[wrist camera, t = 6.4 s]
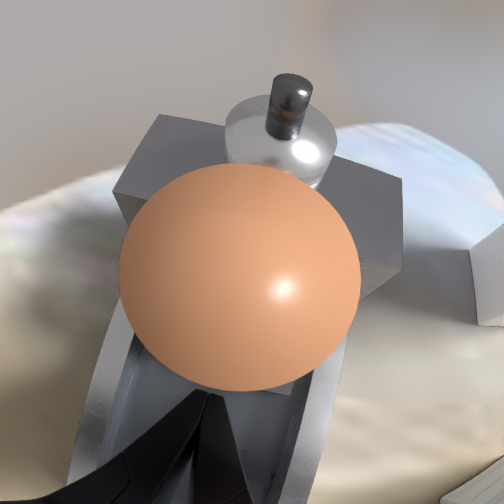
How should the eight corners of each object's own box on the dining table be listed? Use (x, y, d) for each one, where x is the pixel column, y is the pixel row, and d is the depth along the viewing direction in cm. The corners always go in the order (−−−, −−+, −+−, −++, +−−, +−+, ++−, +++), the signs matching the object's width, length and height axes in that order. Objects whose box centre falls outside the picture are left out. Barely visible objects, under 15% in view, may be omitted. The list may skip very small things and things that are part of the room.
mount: (260, 564, 11) (288, 647, 3) (84, 513, 11) (13, 567, 4) (340, 244, 19) (400, 161, 12) (182, 201, 19) (169, 99, 12)
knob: (278, 403, 13) (367, 419, 5) (151, 367, 13) (58, 330, 5) (301, 306, 15) (390, 205, 7) (182, 274, 15) (149, 140, 7)
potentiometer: (305, 232, 10) (349, 144, 6) (208, 201, 10) (207, 103, 6) (322, 161, 11) (357, 75, 8) (240, 136, 11) (250, 44, 8)
